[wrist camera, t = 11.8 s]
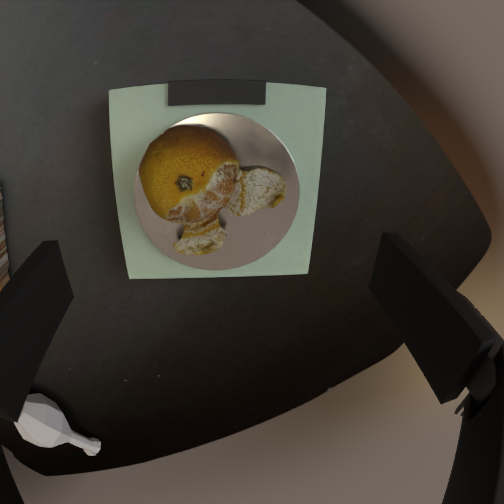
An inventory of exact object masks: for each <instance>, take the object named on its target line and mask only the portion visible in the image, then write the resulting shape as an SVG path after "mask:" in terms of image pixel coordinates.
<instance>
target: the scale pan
mask: <svg viewBox="0 0 504 504" xmlns="http://www.w3.org/2000/svg"><path fill="white" fill-rule="evenodd" d="M183 125H185V126H190V127H192V126H199V127H201V128H206V129H208V130H212V131H215V132H216V133H217V135H219V136H221V137H222V138H223V139H224V140H226V141H227V142H228V145H229V146H230V148H231V149H232V150H233V152H234V153H235V154H236V158H237V159H238V161H239V164H240V165H239V169H240V170H243V171H251V170H252V169H258V168H265V169H269V170H271V171H273V172H276V173H278V174H279V175H280V176H281V177H282V178H283V179H284V180H285V183H286V192H285V198H284V199H283V200H282V201H280V202H279V203H278V205H277V206H276V207H275V208H269V207H267V208H261V209H258V210H256V211H254V212H253V213H252V214H250V215H244V216H233V215H231V216H230V214H231V213H230V212H229V210H228V209H226V208H222V209H220V210H219V214H218V218H219V225H220V227H221V228H222V229H224V230H225V231H227V232H228V233H225V236H226V237H227V238H226V239H225V240H224V242H223V245H222V247H221V248H220V249H217V250H215V251H214V252H211V253H209V254H203V255H184V254H181V253H178V252H177V251H176V250H175V249H174V247H173V243H175V242H178V241H179V240H180V239H181V238H182V236H183V232H184V227H183V225H182V223H172V222H168V221H167V220H164V219H162V218H161V217H159V216H158V215H157V214H156V213H155V212H154V211H153V210H152V208H151V206H150V205H149V202H148V200H147V198H146V195H145V193H144V190H143V186H142V183H141V180H140V176H139V166H140V163H141V161H142V159H143V157H142V158H141V161H140V163H139V165H138V168H137V171H136V175H135V179H134V189H133V193H134V205H135V210H136V213H137V217H138V220H139V222H140V224H141V226H142V228H143V230H144V232H145V233H146V235H147V236H148V238H149V239H150V240H151V241H152V243H153V244H154V245H155V246H156V247H157V248H158V249H159V250H161V251H162V252H163V253H164V254H166V255H167V256H168V257H170V258H172V259H173V260H175V261H177V262H179V263H181V264H184V265H186V266H189V267H193V268H197V269H203V270H217V271H218V270H229V269H234V268H238V267H241V266H245V265H247V264H250V263H252V262H254V261H256V260H258V259H260V258H261V257H263V256H265V255H266V254H267V253H268V252H270V251H271V250H272V249H273V248H274V247H275V246H276V245H277V244H278V243H280V241H281V240H282V239H283V237H284V236H285V235H286V233H287V232H288V230H289V229H290V227H291V225H292V223H293V220H294V218H295V216H296V212H297V209H298V204H299V198H300V184H299V176H298V172H297V168H296V165H295V163H294V160H293V158H292V156H291V154H290V153H289V151H288V149H287V148H286V146H285V145H284V144H283V142H282V141H281V140H280V139H279V138H278V137H277V136H276V135H275V134H274V133H273V132H272V131H271V130H269V129H268V128H266V127H265V126H263V125H262V124H260V123H258V122H256V121H254V120H252V119H250V118H247V117H245V116H242V115H238V114H233V113H227V112H209V113H202V114H197V115H193V116H190V117H188V118H185V119H182V120H181V121H179V122H177V123H175V124H173V125H171V126H170V127H174V126H183ZM170 127H169V128H170ZM167 129H168V128H167ZM167 129H166V130H167ZM166 130H164V131H163V132H162V133H161V134H163V133H164V132H165V131H166ZM161 134H160V135H161ZM160 135H159V136H160ZM159 136H158V137H159ZM158 137H157V138H158ZM157 138H156V139H157ZM145 153H146V151H145ZM145 153H144V155H145ZM144 155H143V156H144Z"/></svg>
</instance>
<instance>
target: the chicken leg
mask: <svg viewBox="0 0 504 504" xmlns="http://www.w3.org/2000/svg"><path fill="white" fill-rule="evenodd" d="M14 424H15V425H16V427H17V429H18V431H19V432H20V434H21V436H22V438H23V439H25V440H27V441H29V442H31V443H33V444H35V445H37V446H41V447H54V446H57V445H60V444H63V443H66V442H69V443H71V444H73V445H76V446H78V447H80V448H83V449H84V451H85V452H86V453H87V455H90V456H95V455H96V453H98V451H99V450H100V449H101V442H100V441H99V440H98V439H97V438H87V437H85V436H83V435H81V434H79V433H76V432H74V431H72V430H71V429H70V427H69V425H68V422H67V420H66V418H65V416H64V414H63V412H62V411H61V410H60V408H59V407H58V405H57V404H56V403H55V402H54V401H52V400H51V399H49V398H47V397H46V396H44V395H43V394H41V393H37V394H29V395H28V396H27V398H26V401H25V403H24V406H23V409H22V411H21V414H20V417H19V420H18V423H16V422H14Z"/></svg>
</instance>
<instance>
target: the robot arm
mask: <svg viewBox="0 0 504 504" xmlns="http://www.w3.org/2000/svg"><path fill="white" fill-rule="evenodd" d="M369 290H370V291H371V293H372V294H373V295H374V297H375V298H376V300H377V301H378V303H379V304H380V306H381V307H382V309H383V310H384V312H385V313H386V315H387V316H388V318H389V319H390V321H391V323H392V324H393V326H394V327H395V329H396V330H397V332H398V333H399V335H400V337H401V338H402V340H403V341H404V343H405V345H406V346H407V347H408V349H409V351H410V352H411V354H412V356H413V357H414V359H415V361H416V362H417V364H418V366H419V367H420V369H421V371H422V372H423V374H424V376H425V377H426V379H427V381H428V382H429V384H430V386H431V388H432V389H433V391H434V393H435V395H436V396H437V398H438V400H439V402H440V404H443V403H446V402H449V401H451V400H454V399H456V398H457V397H458V396H459V395H460V393H461V392H462V391H463V390H464V388H465V387H467V389H468V390H469V393H468V395H467V396H466V397H465V399H464V400H463V401H462V402H461V404H460V405H459V406H458V407H457V409H456V411H455V414H457V413H458V412H459V411H460V410H461V409H462V408H463V407H464V411H463V412H462V414H461V416H463V418H462V425H461V430H460V436H459V441H458V446H457V450H456V455H455V459H454V463H453V467H452V471H451V475H450V478H449V482H448V486H447V489H446V492H445V495H444V499H443V502H442V504H504V340H503V339H502V338H501V336H500V335H499V334H498V333H497V332H496V331H495V329H494V328H493V327H492V326H491V324H490V323H489V322H488V321H487V320H486V319H485V318H484V316H483V315H481V313H480V312H479V311H478V310H477V309H476V308H474V305H473V304H472V303H471V302H470V301H469V300H468V299H467V298H466V297H465V296H463V295H462V294H461V293H459V292H458V291H456V290H455V289H454V288H453V287H452V286H451V285H450V284H449V283H448V282H447V281H446V280H445V279H444V277H443V276H442V275H441V274H440V273H439V272H438V271H437V270H436V269H435V268H434V267H433V266H432V265H431V264H430V263H429V262H428V261H427V260H425V259H424V258H423V257H422V256H421V255H420V254H419V253H418V252H417V251H416V250H415V249H414V248H413V247H412V246H411V245H410V244H409V243H408V242H407V241H406V240H404V239H403V238H402V237H401V236H400V235H399V234H398V233H382V236H381V240H380V245H379V249H378V253H377V257H376V261H375V265H374V269H373V273H372V277H371V280H370V284H369ZM73 298H74V295H73V292H72V289H71V286H70V283H69V279H68V276H67V273H66V269H65V266H64V262H63V259H62V255H61V251H60V248H59V244H58V240H55V241H43V242H42V243H41V244H40V245H39V246H38V247H37V248H36V249H35V250H34V252H33V253H32V254H31V255H30V256H29V257H28V258H27V259H26V261H25V262H24V263H23V264H22V265H21V266H20V268H19V269H18V270H17V271H16V272H15V274H14V275H13V276H12V277H11V278H10V280H9V281H8V282H7V283H6V285H5V286H4V287H3V288H2V290H1V291H0V417H1V418H4V419H7V420H10V421H13V422H16V423H18V420H19V417H20V414H21V411H22V409H23V406H24V403H25V401H26V398H27V396H28V393H29V390H30V388H31V385H32V383H33V381H34V378H35V376H36V373H37V371H38V369H39V367H40V364H41V362H42V360H43V358H44V355H45V353H46V351H47V349H48V347H49V345H50V343H51V340H52V338H53V336H54V334H55V332H56V330H57V328H58V326H59V324H60V322H61V320H62V318H63V316H64V314H65V313H66V311H67V309H68V307H69V305H70V303H71V301H72V300H73ZM0 504H24V502H23V500H22V497H21V495H20V494H19V491H18V489H17V486H16V484H15V481H14V479H13V477H12V474H11V472H10V469H9V466H8V464H7V461H6V458H5V455H4V452H3V449H2V447H1V443H0Z"/></svg>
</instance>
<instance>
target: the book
mask: <svg viewBox="0 0 504 504" xmlns="http://www.w3.org/2000/svg"><path fill="white" fill-rule="evenodd" d="M0 189H1V187H0ZM2 199H3V197H2V195H1V193H0V291H1V290H2V288H3V287H4V286H5V285H6V283H7V282H8V281H9V280H10V278H9V274H8V273H9V272H8V267H9V260H8V253H7V246H6V242H5V238H6V237H5V232H4V224H3V222H4V220H3V219H4V211H3V201H2Z"/></svg>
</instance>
